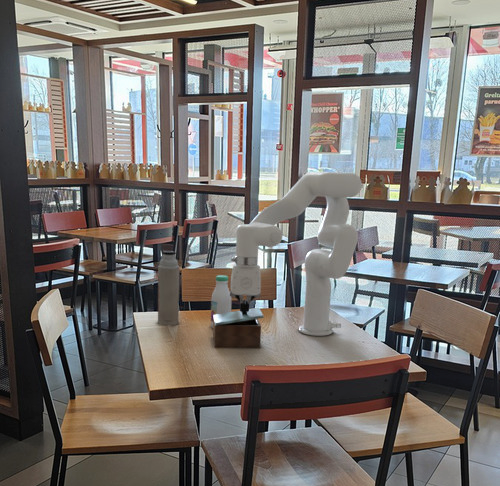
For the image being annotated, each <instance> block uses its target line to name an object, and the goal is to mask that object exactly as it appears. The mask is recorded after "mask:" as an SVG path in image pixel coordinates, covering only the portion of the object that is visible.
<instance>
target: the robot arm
mask: <svg viewBox="0 0 500 486" xmlns="http://www.w3.org/2000/svg"><path fill="white" fill-rule="evenodd" d="M362 187H363V184H362V180H361V178H360V176H359V175H357V174H356V173H353V172H337V171H336V172H331V171H313V170H312V171H307V172H306V173H304V174H303V175H302V176H301V177H300V178H299V179H298V180H297V182H296V183H294V184H293V186H292V187H291V188H290V189H289V190H288V192H287V193H286V194H285V195H284V196H283V197H282V198H280V199H278V200H277V201H275V202H274V203H272V204H270V205H269V206H267V207H265V208H264V209H263V210H261V211H260V212H258V214H257V215H256V216H255V217H254V218H253V220H252V221H251V222H250V223H249V224H246V223H243V224H239V225H238V226H237V228H236V240H235V241H236V242H235V256H234V257H231V259H230V261H231V262H233V263H234V264H233V266H232V269H231V276H230V290H229V291H230V294H229V295H230V297H231V298H234V299H236V300H237V301H238V302H239V311H240V312H242V315H244V314H245V315H247V312H249V309H250V304H251V302H252V301H253V300H254V299H258V298H261V290H262V289H261V288H262V276H261V274H262V273H261V265H259V264H258V261H259V247H268V248H273V247H277V245H280V243H281V242H282V240H283V231H282V230H281V228H280V227H278V226H277V224H279V223H281V222H283V221H287V220H289V219H294V218H296V217H299V216H300V215H302V213H304V211H305V210H306V209H307V208H308V207H309V206H310V205H311V203H313V201H314V200H315V199H316V198H317V197H324V198H325V200H326V209H325V212H324V215H323V218H322V221H321V224H320V227H319V229H318V232H317V241H318V243H319V244H320V245H321V246H323V247H326V248H331V250H328V249H323V248H314V249H312V250H310V251H308V252H307V254H306V256H305V258H304V270H305V293H304V310H303V324H302V325H300V326H299V327H298V331H299V332H300V333H302V334H304V335H308V336H315V337H316V336H317V337H322V336H329V335H331V334H333V329H334V328H335V329H341V328H342V323H341V322H336V321H331V320H330V309H331V295H332V282H331V279H332V280H338V279H341V278H343V277H344V276H345V275H346V273H347V272H348V269H349V267H350V265H351V263H352V259H353V255H354V253H355V251H356V247H357V244H358V240H359V239H358V237H359V235H358V231H357V229H356V227H354V226H353V224H352V225H351V224H349V223H347V222H348V218H349V213H350V205H349V201H348V198H354V197H356V196H357V195H358V194H359V193H360V192H361V190H362ZM244 296H246V298H245V300H244Z"/></svg>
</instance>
